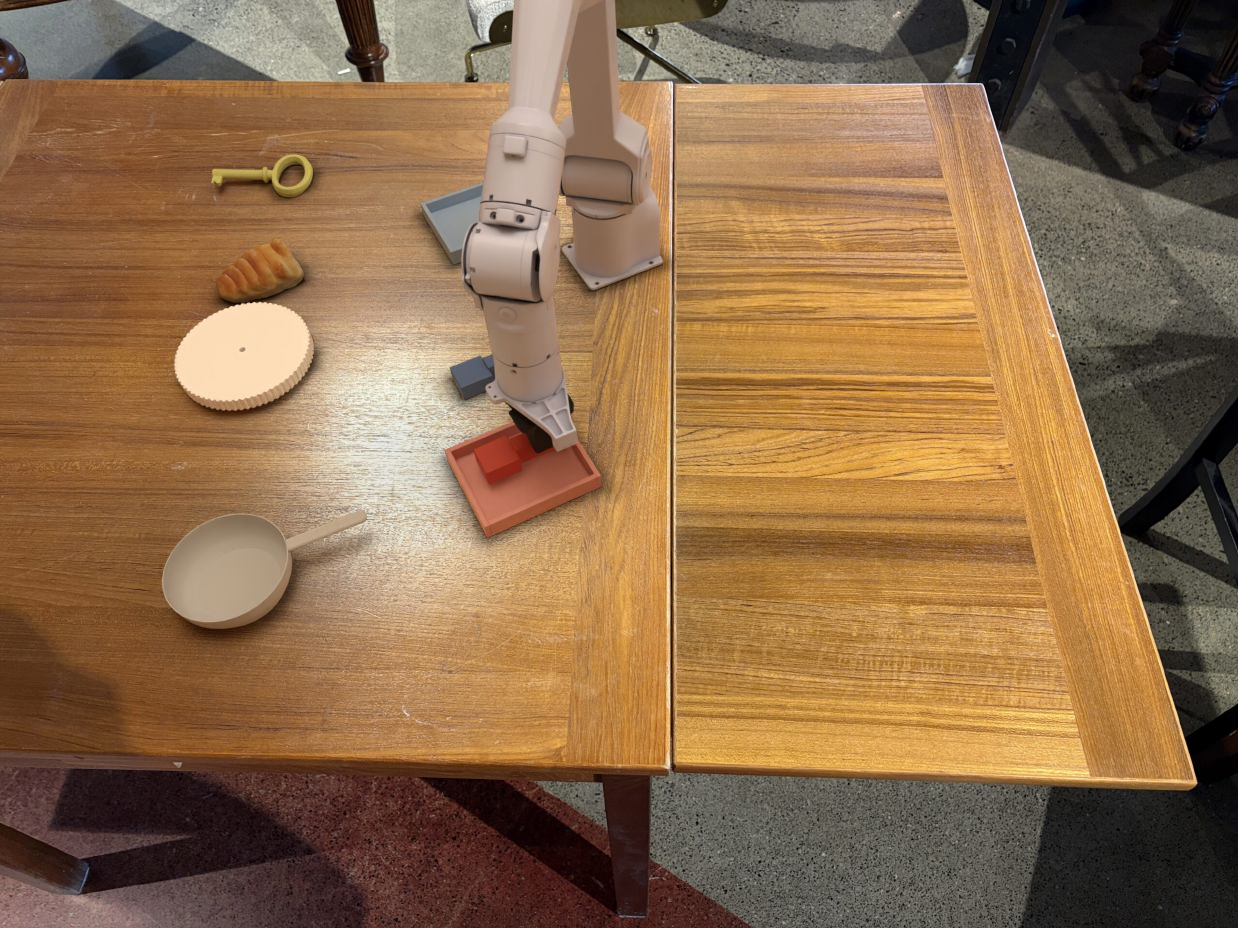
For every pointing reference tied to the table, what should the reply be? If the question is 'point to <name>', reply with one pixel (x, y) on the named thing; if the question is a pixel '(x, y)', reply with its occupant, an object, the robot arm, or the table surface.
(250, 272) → the pastry
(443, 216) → the blue tray
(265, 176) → the key
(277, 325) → the cream gear wheel
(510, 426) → the red tray
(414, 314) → the table surface
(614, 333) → the table surface
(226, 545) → the beige frying pan
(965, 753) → the table surface
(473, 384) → the stepped square rod
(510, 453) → the red stepped bar
